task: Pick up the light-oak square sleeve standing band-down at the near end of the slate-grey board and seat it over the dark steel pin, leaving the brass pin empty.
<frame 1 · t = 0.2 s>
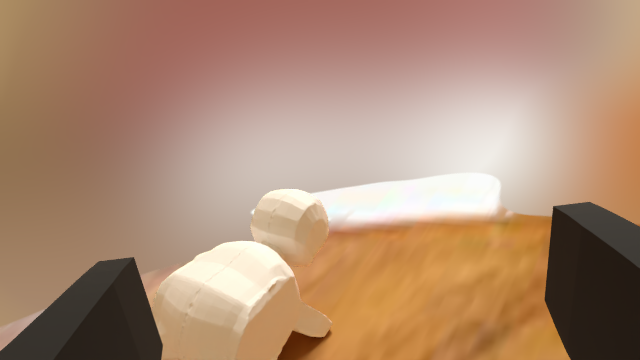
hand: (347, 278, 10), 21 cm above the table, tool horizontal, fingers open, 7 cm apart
white animal figurine: (259, 336, 40), on the table
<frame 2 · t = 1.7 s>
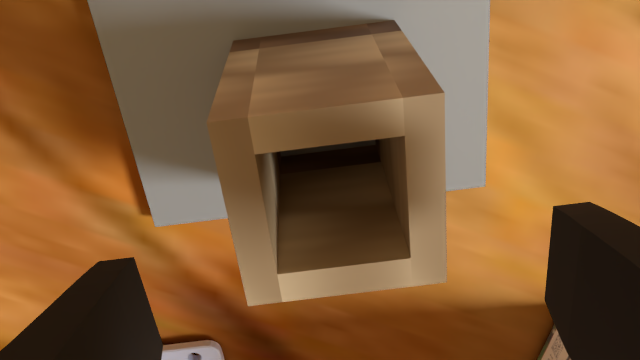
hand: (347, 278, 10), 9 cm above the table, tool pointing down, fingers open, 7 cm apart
syrup box: (593, 358, 24), on the table
sleeve: (322, 106, 17), point 1 cm above the table, touching board
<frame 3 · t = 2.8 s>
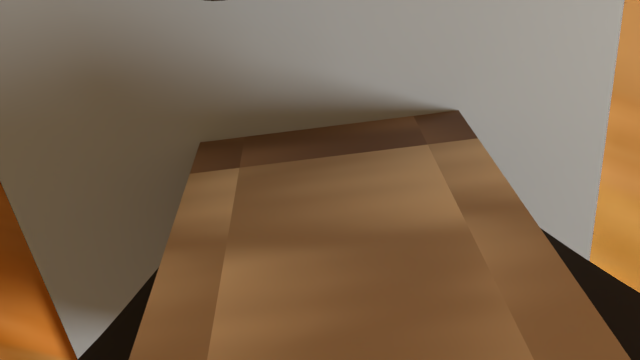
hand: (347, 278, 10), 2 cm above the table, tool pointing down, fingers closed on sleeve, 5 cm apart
sleeve: (341, 234, 11), point 1 cm above the table, touching board, gripper
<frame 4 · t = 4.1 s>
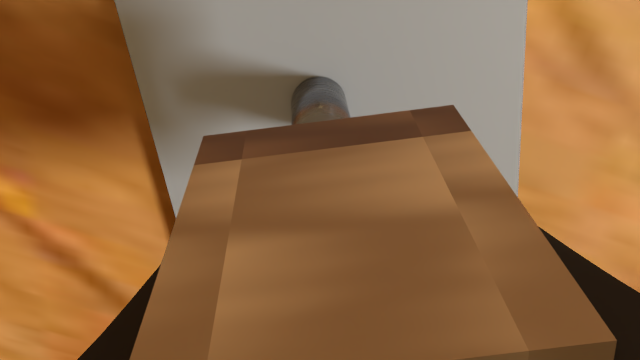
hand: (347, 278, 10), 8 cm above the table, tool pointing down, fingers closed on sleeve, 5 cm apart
steel pin: (317, 95, 17), resting on board
sleeve: (340, 225, 12), point 7 cm above the table, touching gripper
board: (334, 93, 17), on the table
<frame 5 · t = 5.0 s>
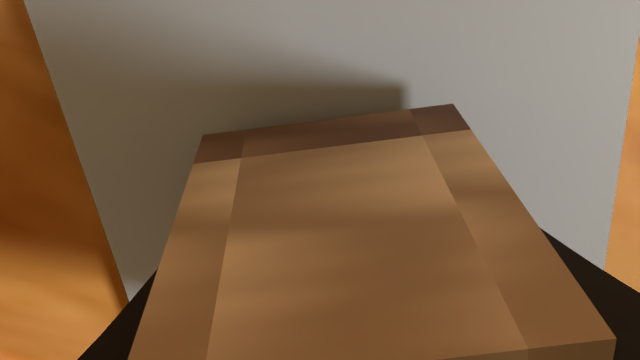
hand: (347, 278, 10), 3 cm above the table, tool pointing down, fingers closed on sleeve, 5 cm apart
sleeve: (339, 224, 12), point 1 cm above the table, touching gripper
board: (357, 188, 13), on the table
when the fingers open (3 cm above the table, at t = 5.5 s): sleeve stays where it is, resting on board.
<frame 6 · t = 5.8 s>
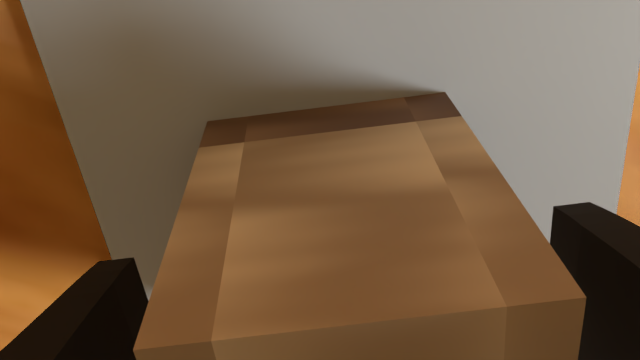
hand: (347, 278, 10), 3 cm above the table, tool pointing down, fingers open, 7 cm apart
sleeve: (337, 208, 12), point 1 cm above the table, touching board
board: (358, 190, 13), on the table
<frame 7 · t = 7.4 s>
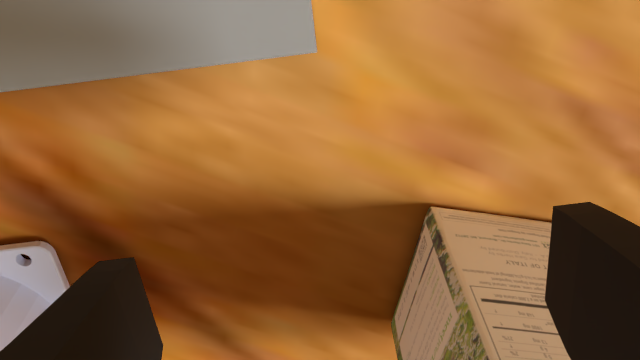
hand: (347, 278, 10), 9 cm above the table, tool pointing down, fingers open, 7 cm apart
syrup box: (473, 270, 22), on the table
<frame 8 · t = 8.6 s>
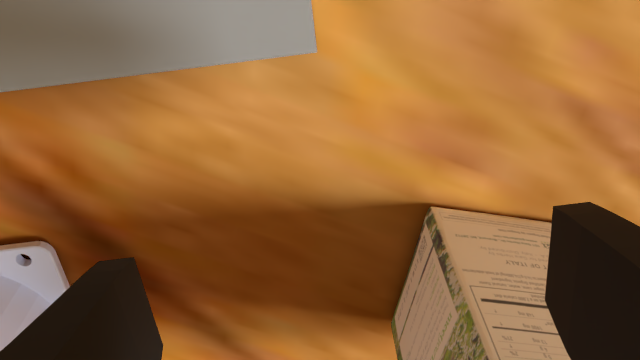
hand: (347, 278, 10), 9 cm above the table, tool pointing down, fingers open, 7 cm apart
syrup box: (473, 270, 22), on the table
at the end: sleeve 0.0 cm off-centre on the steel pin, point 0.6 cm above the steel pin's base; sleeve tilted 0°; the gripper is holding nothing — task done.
